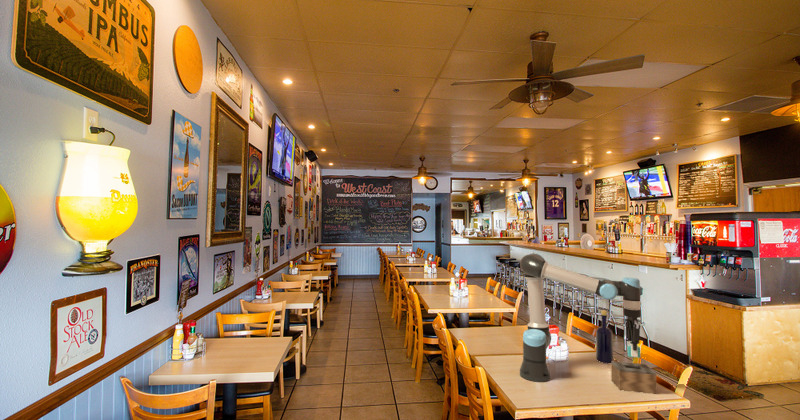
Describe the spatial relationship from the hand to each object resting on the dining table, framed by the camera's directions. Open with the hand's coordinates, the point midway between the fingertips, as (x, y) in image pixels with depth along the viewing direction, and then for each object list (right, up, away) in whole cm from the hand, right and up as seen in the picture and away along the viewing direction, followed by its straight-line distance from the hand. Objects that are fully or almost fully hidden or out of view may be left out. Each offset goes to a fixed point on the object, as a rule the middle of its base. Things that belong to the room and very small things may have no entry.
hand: (633, 355), depth 185 cm
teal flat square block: (0, -1, 0) cm, 1 cm away
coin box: (-1, -16, -1) cm, 16 cm away
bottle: (+6, -18, +37) cm, 41 cm away
